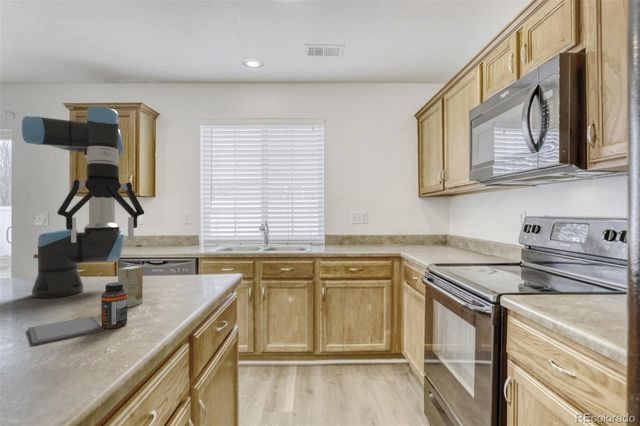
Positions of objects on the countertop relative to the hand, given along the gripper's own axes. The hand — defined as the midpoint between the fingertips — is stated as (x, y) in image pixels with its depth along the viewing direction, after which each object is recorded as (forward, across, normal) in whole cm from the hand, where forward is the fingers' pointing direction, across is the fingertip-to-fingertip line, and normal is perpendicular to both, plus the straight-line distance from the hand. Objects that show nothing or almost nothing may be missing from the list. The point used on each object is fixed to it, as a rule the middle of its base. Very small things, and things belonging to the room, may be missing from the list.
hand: (103, 241), depth 96 cm
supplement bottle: (+23, +1, -5) cm, 23 cm away
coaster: (+22, -9, -1) cm, 24 cm away
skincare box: (+22, +10, +14) cm, 28 cm away
